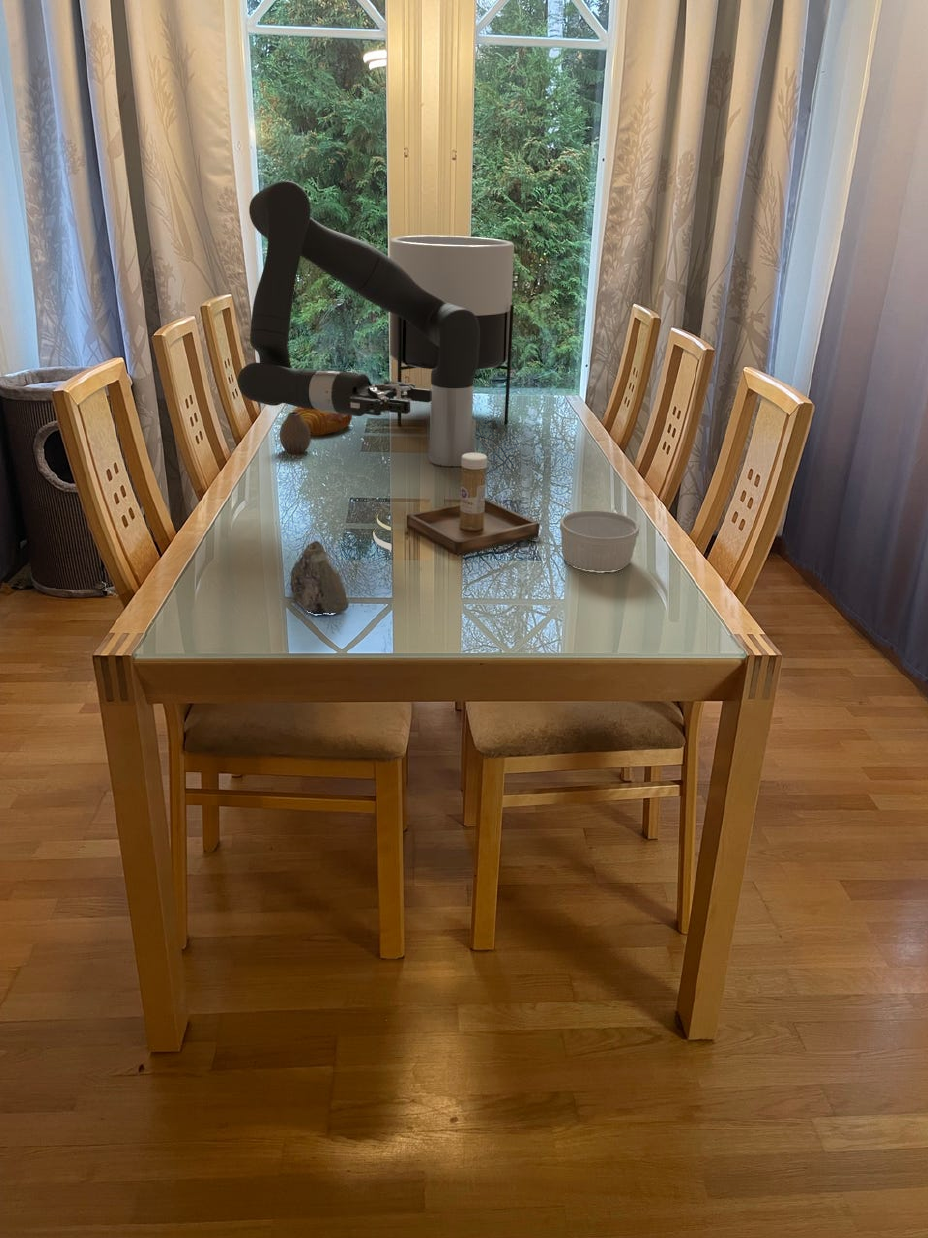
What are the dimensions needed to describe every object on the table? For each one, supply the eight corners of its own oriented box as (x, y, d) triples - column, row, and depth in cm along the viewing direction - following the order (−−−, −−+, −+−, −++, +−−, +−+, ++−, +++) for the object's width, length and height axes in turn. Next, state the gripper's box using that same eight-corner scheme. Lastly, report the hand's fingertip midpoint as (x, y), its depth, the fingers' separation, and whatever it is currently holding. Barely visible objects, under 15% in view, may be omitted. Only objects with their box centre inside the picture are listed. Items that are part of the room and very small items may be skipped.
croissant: (361, 436, 232) (364, 403, 229) (319, 440, 219) (322, 406, 216) (317, 424, 239) (320, 393, 236) (275, 428, 226) (277, 395, 223)
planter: (529, 416, 246) (540, 241, 226) (463, 440, 222) (469, 248, 203) (435, 398, 261) (438, 233, 242) (364, 419, 238) (361, 238, 219)
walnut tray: (484, 510, 178) (485, 498, 177) (538, 536, 167) (539, 523, 166) (406, 527, 169) (406, 514, 168) (457, 556, 157) (458, 542, 156)
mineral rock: (298, 579, 147) (295, 520, 142) (364, 585, 146) (363, 525, 141) (272, 614, 135) (268, 551, 131) (344, 621, 134) (342, 557, 130)
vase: (305, 456, 206) (303, 417, 203) (275, 454, 208) (273, 415, 204) (315, 448, 213) (314, 410, 209) (287, 445, 214) (285, 408, 210)
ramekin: (615, 583, 149) (620, 543, 146) (543, 564, 155) (546, 526, 152) (646, 558, 160) (651, 520, 156) (577, 541, 166) (580, 504, 163)
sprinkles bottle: (454, 527, 167) (456, 455, 161) (470, 521, 170) (473, 450, 165) (473, 533, 165) (476, 460, 159) (489, 527, 168) (493, 455, 162)
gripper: (318, 380, 160) (401, 389, 154) (358, 363, 172) (437, 371, 166) (321, 422, 164) (402, 433, 158) (360, 404, 175) (438, 412, 169)
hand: (420, 401), depth 162 cm, fingers open, 8 cm apart
